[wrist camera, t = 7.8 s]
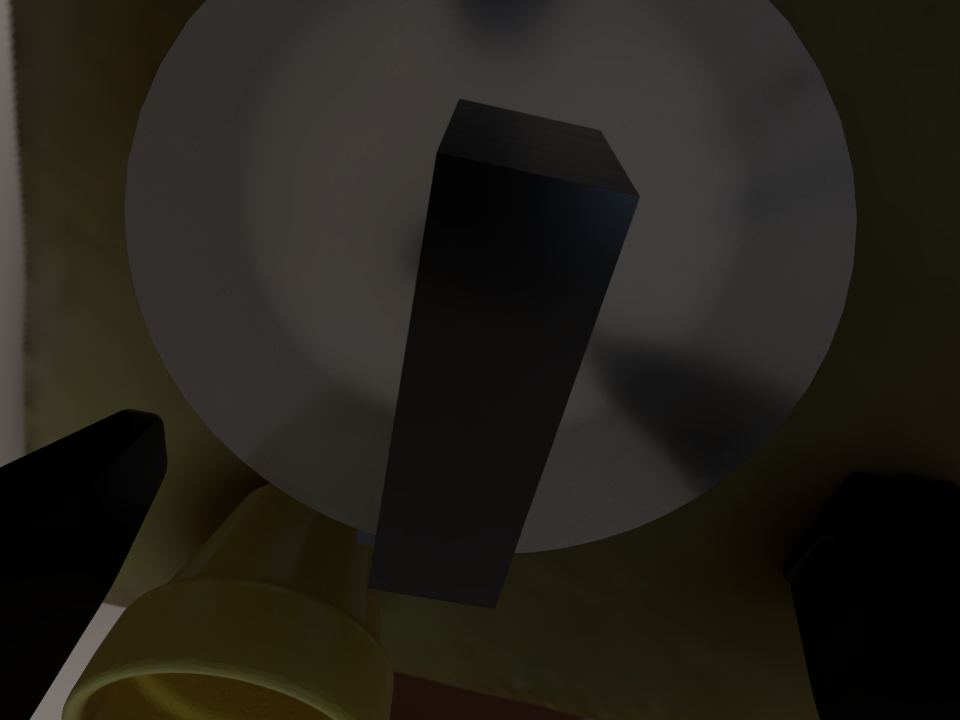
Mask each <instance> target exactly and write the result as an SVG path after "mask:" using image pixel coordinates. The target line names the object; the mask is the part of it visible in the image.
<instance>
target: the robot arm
mask: <svg viewBox="0 0 960 720" xmlns="http://www.w3.org/2000/svg"><path fill="white" fill-rule="evenodd" d="M166 470H167V451H166V442H165V433H164V424H163V420H162V419H161V417H160V416H159V415H157V414H155V413H150V412H144V411H139V410H133V409H126V410H122V411H120V412H117V413H115V414H113V415H111V416H109V417H107V418H105V419H102V420H100V421H98V422H96V423H94V424H92V425H90V426H87V427H85V428H83V429H81V430H79V431H77V432H75V433H73V434H70V435H68V436H66V437H64V438H62V439H60V440H58V441H55V442H53V443H51V444H49V445H47V446H45V447H43V448H40V449H38V450H36V451H34V452H32V453H30V454H28V455H26V456H23V457H21V458H19V459H17V460H15V461H13V462H11V463H8V464H7V465H4V466H2V467H0V720H30V718H31V717H32V715H33V713H34V712H35V710H36V709H37V707H38V705H39V704H40V702H41V700H42V699H43V697H44V696H45V694H46V692H47V691H48V689H49V688H50V686H51V684H52V683H53V681H54V680H55V678H56V676H57V675H58V673H59V671H60V670H61V668H62V667H63V665H64V663H65V662H66V660H67V659H68V657H69V655H70V654H71V652H72V650H73V649H74V647H75V646H76V644H77V642H78V641H79V639H80V638H81V636H82V634H83V633H84V631H85V630H86V628H87V626H88V625H89V623H90V622H91V620H92V618H93V617H94V615H95V613H96V612H97V610H98V609H99V607H100V605H101V604H102V602H103V600H104V599H105V597H106V595H107V594H108V592H109V590H110V588H111V587H112V585H113V583H114V581H115V579H116V577H117V575H118V573H119V571H120V569H121V567H122V565H123V563H124V561H125V559H126V557H127V555H128V553H129V551H130V548H131V546H132V544H133V542H134V540H135V538H136V536H137V534H138V532H139V530H140V527H141V525H142V523H143V521H144V519H145V517H146V515H147V513H148V511H149V509H150V507H151V504H152V502H153V500H154V498H155V496H156V494H157V492H158V490H159V488H160V486H161V484H162V481H163V479H164V477H165V474H166ZM861 487H862V488H861ZM783 573H784V575H785V577H786V579H787V581H788V582H790V583H791V591H792V596H793V601H794V606H795V611H796V616H797V621H798V625H799V630H800V635H801V640H802V645H803V650H804V655H805V660H806V665H807V669H808V674H809V679H810V684H811V688H812V692H813V696H814V700H815V704H816V708H817V711H818V715H819V718H820V720H960V492H954V491H949V490H944V489H939V488H934V487H928V486H923V485H915V484H909V483H904V482H899V481H894V480H888V479H883V478H878V477H873V476H868V475H859V476H855V477H853V478H851V479H850V480H849V481H848V482H847V483H846V485H845V486H844V487H843V489H842V490H841V491H840V493H839V494H838V496H837V497H836V498H835V500H834V501H833V502H832V504H831V505H830V506H829V508H828V509H827V510H826V512H825V513H824V514H823V516H822V517H821V518H820V520H819V521H818V522H817V524H816V525H815V526H814V528H813V529H812V530H811V532H810V533H809V534H808V536H807V537H806V538H805V540H804V541H803V542H802V544H801V545H800V546H799V548H798V549H797V550H796V552H795V553H794V554H793V556H792V557H791V558H790V560H789V561H788V562H787V564H786V565H785V566H784V568H783Z"/></svg>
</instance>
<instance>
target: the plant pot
mask: <svg viewBox="0 0 960 720" xmlns="http://www.w3.org/2000/svg"><path fill="white" fill-rule="evenodd" d="M357 532H358V529H356V528H354V527H351V526H349V525H347V524H344V523H342V522H339V521H337V520H334V519H332V518H330V517H328V516H326V515H324V514H322V513H320V512H318V511H316V510H314V509H312V508H310V507H308V506H307V505H305V504H303V503H301V502H299V501H297V500H296V499H294V498H293V497H291V496H289V495H288V494H286V493H285V492H283V491H282V490H280V489H279V488H277V487H276V486H274V485H273V484H271V483H270V484H267V485H264V486H262V487H260V488H258V489H256V490H255V491H253V492H252V493H250V494H249V495H248V496H247V497H246V498H245V499H244V500H243V501H242V502H241V503H240V504H239V505H238V506H237V507H236V508H235V510H234V511H233V512H232V513H231V514H230V515H229V517H228V518H227V519H226V520H225V521H224V522H223V523H222V524H221V526H220V527H219V528H218V529H217V530H216V531H215V532H214V533H213V534H212V535H211V537H210V538H209V539H208V540H207V541H206V542H205V543H204V544H203V545H202V546H201V547H200V549H199V550H198V551H197V552H196V553H195V554H194V555H193V556H192V557H191V558H190V560H189V561H188V562H187V563H186V564H185V565H184V566H183V567H182V568H181V569H180V571H179V572H178V573H177V574H176V575H175V576H174V577H173V578H172V579H171V580H170V581H169V583H167V584H164V585H162V586H159V587H157V588H154V589H152V590H150V591H148V592H147V593H145V594H143V595H142V596H140V597H139V598H138V599H136V600H135V601H134V602H133V603H132V604H131V605H130V606H129V607H128V608H127V609H126V610H125V611H124V612H123V613H122V615H121V616H120V618H119V619H118V620H117V622H116V623H115V625H114V626H113V627H112V629H111V630H110V632H109V633H108V635H107V636H106V638H105V639H104V640H103V642H102V643H101V645H100V646H99V648H98V649H97V651H96V652H95V654H94V655H93V657H92V658H91V660H90V662H89V663H88V665H87V666H86V668H85V670H84V671H83V673H82V675H81V676H80V678H79V679H78V681H77V683H76V684H75V686H74V688H73V689H72V691H71V692H70V694H69V696H68V698H67V700H66V702H65V705H64V708H63V713H62V720H389V718H390V710H391V703H392V693H393V670H392V665H391V662H390V659H389V657H388V655H387V653H386V651H385V649H384V647H383V645H382V644H381V643H380V595H379V590H375V589H369V588H368V582H369V576H370V569H371V563H372V557H373V550H374V546H369V545H363V544H358V543H356V539H357Z"/></svg>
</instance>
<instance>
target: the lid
mask: <svg viewBox="0 0 960 720" xmlns="http://www.w3.org/2000/svg"><path fill="white" fill-rule="evenodd" d="M124 211H125V228H126V246H127V255H128V260H129V265H130V270H131V275H132V280H133V285H134V290H135V294H136V297H137V300H138V303H139V306H140V309H141V312H142V315H143V318H144V321H145V323H146V326H147V329H148V332H149V334H150V337H151V339H152V341H153V343H154V345H155V347H156V349H157V351H158V353H159V355H160V357H161V359H162V361H163V363H164V365H165V367H166V369H167V371H168V372H169V374H170V375H171V377H172V379H173V380H174V382H175V383H176V385H177V386H178V388H179V389H180V391H181V393H182V394H183V396H184V397H185V399H186V400H187V402H188V403H189V404H190V406H191V407H192V408H193V409H194V410H195V412H196V413H197V414H198V415H199V417H200V418H201V419H202V420H203V421H204V423H205V424H206V425H207V426H208V428H209V429H210V430H211V431H212V432H213V433H214V434H215V435H216V436H217V437H218V438H219V439H220V440H221V441H222V442H223V443H224V444H225V445H226V446H227V447H228V448H229V449H230V450H231V451H232V452H233V453H234V454H235V455H236V456H237V457H238V458H239V459H240V460H242V461H243V462H244V463H245V464H247V465H248V466H249V467H250V468H252V469H253V470H254V471H255V472H257V473H258V474H259V475H260V476H262V477H263V478H264V479H265V480H267V481H268V482H270V483H271V484H273V485H274V486H276V487H277V488H279V489H280V490H282V491H283V492H285V493H286V494H288V495H289V496H291V497H293V498H294V499H296V500H297V501H299V502H301V503H303V504H305V505H307V506H308V507H310V508H312V509H314V510H316V511H318V512H320V513H322V514H324V515H326V516H328V517H330V518H332V519H334V520H337V521H339V522H342V523H344V524H347V525H349V526H351V527H354V528H356V529H359V530H361V531H364V532H367V533H371V534H374V535H376V538H375V544H374V550H373V557H372V563H371V569H370V576H369V582H368V588H369V589H375V590H382V591H388V592H394V593H400V594H406V595H412V596H418V597H424V598H430V599H437V600H443V601H449V602H455V603H461V604H467V605H473V606H479V607H485V608H492V609H495V606H496V603H497V600H498V597H499V595H500V592H501V589H502V586H503V583H504V580H505V578H506V575H507V572H508V569H509V566H510V563H511V561H512V558H513V555H514V553H527V552H538V551H545V550H552V549H559V548H566V547H571V546H575V545H580V544H584V543H588V542H592V541H597V540H601V539H604V538H607V537H610V536H613V535H616V534H619V533H622V532H625V531H628V530H631V529H634V528H637V527H639V526H641V525H643V524H646V523H648V522H650V521H653V520H655V519H657V518H659V517H662V516H664V515H666V514H668V513H670V512H672V511H674V510H675V509H677V508H679V507H681V506H683V505H684V504H686V503H688V502H690V501H691V500H693V499H695V498H697V497H698V496H700V495H702V494H703V493H704V492H706V491H707V490H709V489H710V488H711V487H713V486H714V485H716V484H717V483H719V482H720V481H721V480H723V479H724V478H726V477H727V476H728V475H730V474H731V473H732V472H733V471H735V470H736V469H737V468H738V467H739V466H740V465H741V464H742V463H744V462H745V461H746V460H747V459H748V458H749V457H750V456H751V455H753V454H754V453H755V452H756V451H757V450H758V449H759V448H760V447H761V446H762V445H763V444H764V443H765V442H766V441H767V440H768V438H769V437H770V436H771V435H772V434H773V433H774V432H775V431H776V430H777V428H778V427H779V426H780V425H781V424H782V423H783V422H784V421H785V420H786V418H787V417H788V415H789V414H790V413H791V411H792V410H793V408H794V407H795V405H796V404H797V403H798V401H799V400H800V398H801V397H802V396H803V394H804V393H805V391H806V390H807V389H808V387H809V385H810V384H811V382H812V380H813V378H814V376H815V374H816V372H817V370H818V369H819V367H820V365H821V363H822V361H823V359H824V357H825V355H826V354H827V352H828V350H829V347H830V345H831V342H832V339H833V336H834V334H835V331H836V328H837V326H838V323H839V320H840V318H841V315H842V312H843V310H844V305H845V301H846V296H847V292H848V287H849V283H850V278H851V274H852V269H853V264H854V250H855V236H856V222H857V216H856V204H855V192H854V179H853V169H852V165H851V161H850V157H849V153H848V149H847V144H846V140H845V136H844V132H843V128H842V124H841V120H840V118H839V115H838V113H837V111H836V108H835V106H834V104H833V101H832V99H831V97H830V94H829V92H828V89H827V87H826V85H825V82H824V80H823V78H822V75H821V73H820V71H819V69H818V68H817V66H816V64H815V63H814V61H813V60H812V58H811V57H810V55H809V53H808V52H807V50H806V49H805V47H804V46H803V44H802V42H801V41H800V39H799V38H798V36H797V35H796V33H795V31H794V30H793V28H792V27H791V25H790V24H789V22H788V21H787V20H786V19H785V18H784V17H783V16H782V15H781V13H780V12H779V11H778V10H777V9H776V8H775V7H774V6H773V5H772V3H771V2H770V1H769V0H206V1H205V2H204V3H203V4H202V5H201V6H200V7H199V9H198V10H197V11H196V12H195V13H194V14H193V15H192V16H191V18H190V19H189V20H188V22H187V23H186V25H185V26H184V28H183V30H182V31H181V33H180V34H179V36H178V37H177V39H176V41H175V42H174V44H173V45H172V47H171V48H170V50H169V52H168V53H167V55H166V56H165V58H164V60H163V61H162V63H161V64H160V66H159V69H158V71H157V74H156V76H155V78H154V81H153V83H152V85H151V88H150V90H149V92H148V95H147V97H146V99H145V102H144V104H143V107H142V109H141V111H140V115H139V119H138V123H137V127H136V131H135V135H134V139H133V143H132V147H131V151H130V155H129V159H128V170H127V181H126V192H125V203H124Z"/></svg>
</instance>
